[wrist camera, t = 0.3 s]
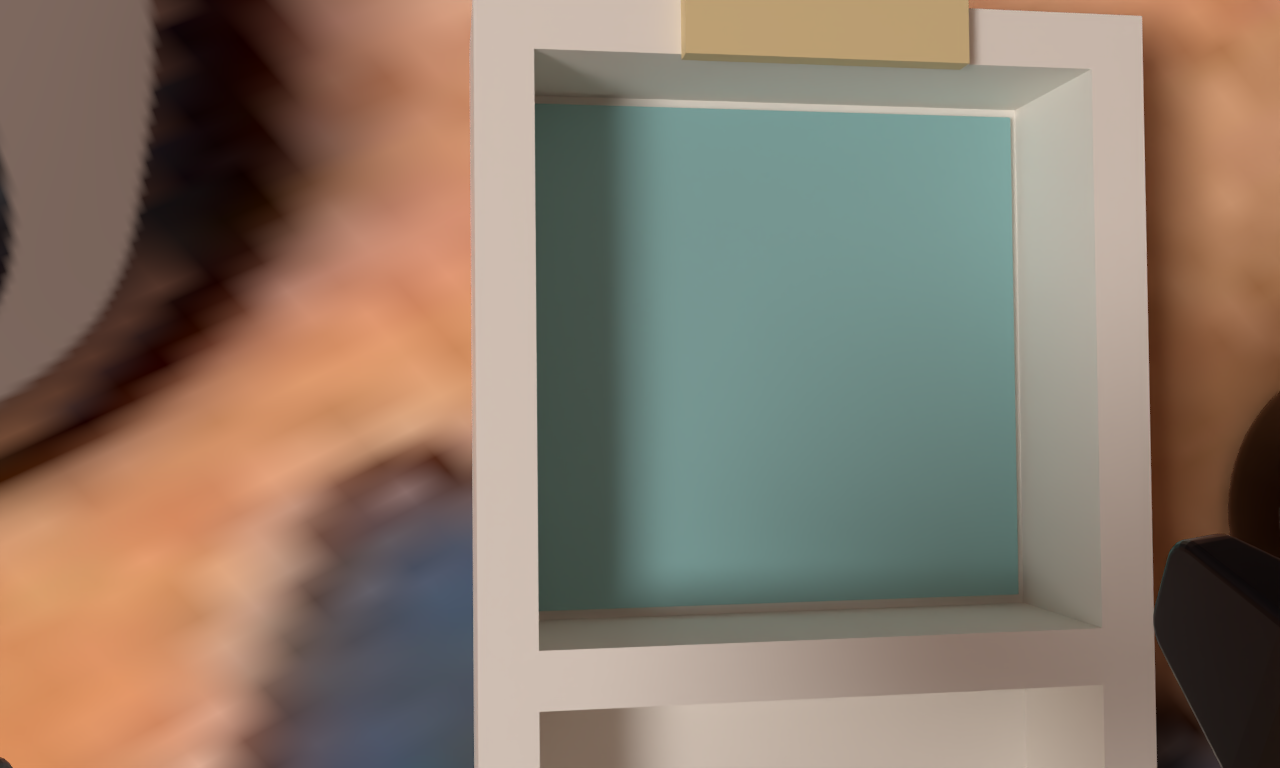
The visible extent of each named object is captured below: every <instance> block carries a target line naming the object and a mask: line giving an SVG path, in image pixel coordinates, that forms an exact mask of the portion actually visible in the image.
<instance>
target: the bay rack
mask: <svg viewBox="0 0 1280 768" xmlns="http://www.w3.org/2000/svg"><path fill="white" fill-rule="evenodd" d="M469 56H470V205H471V354H472V504H473V653H474V768H1157V743H1156V693H1155V643H1154V626H1153V613H1154V592H1153V542H1152V492H1151V442H1150V392H1149V342H1148V292H1147V242H1146V192H1145V142H1144V92H1143V42H1142V16H1130V15H1107V14H1084V13H1062V12H1039V11H1016V10H994V9H971V8H969V3H968V0H472V17H471V35H470V54H469Z"/></svg>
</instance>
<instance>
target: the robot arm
mask: <svg viewBox="0 0 1280 768" xmlns="http://www.w3.org/2000/svg"><path fill="white" fill-rule="evenodd" d="M1153 626H1154V632H1155V635H1156V639H1157V641H1158V644H1159V646H1160V648H1161V650H1162V652H1163V654H1164V656H1165V658H1166V660H1167V662H1168V664H1169V666H1170V668H1171V670H1172V672H1173V674H1174V676H1175V678H1176V680H1177V682H1178V684H1179V685H1180V687H1181V689H1182V691H1183V693H1184V695H1185V697H1186V699H1187V701H1188V703H1189V705H1190V707H1191V709H1192V711H1193V713H1194V715H1195V717H1196V719H1197V721H1198V723H1199V725H1200V727H1201V729H1202V731H1203V732H1204V734H1205V736H1206V738H1207V740H1208V742H1209V744H1210V746H1211V748H1212V750H1213V752H1214V754H1215V756H1216V758H1217V760H1218V762H1219V764H1220V766H1221V768H1280V559H1279V558H1277V557H1275V556H1273V555H1271V554H1269V553H1267V552H1265V551H1263V550H1260V549H1258V548H1256V547H1254V546H1252V545H1250V544H1248V543H1246V542H1244V541H1241V540H1239V539H1237V538H1235V537H1232V536H1230V535H1226V534H1213V535H1207V536H1202V537H1196V538H1191V539H1185V540H1181V541H1179V542H1177V543H1176V544H1175V545H1174V546H1173V548H1172V549H1171V550H1170V552H1169V555H1168V558H1167V562H1166V566H1165V570H1164V574H1163V577H1162V581H1161V585H1160V589H1159V593H1158V597H1157V600H1156V604H1155V608H1154V613H1153ZM0 768H12V766H11V765H10V763H9V762H8V761H6V760H5V759H4V758H1V757H0Z"/></svg>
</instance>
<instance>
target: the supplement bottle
mask: <svg viewBox="0 0 1280 768" xmlns="http://www.w3.org/2000/svg"><path fill="white" fill-rule="evenodd" d="M1228 520H1229V530H1230V536H1232V537H1235V538H1237V539H1239V540H1241V541H1244V542H1246V543H1248V544H1250V545H1252V546H1254V547H1256V548H1258V549H1260V550H1263V551H1265V552H1267V553H1269V554H1271V555H1273V556H1275V557H1277V558H1279V559H1280V392H1279V393H1278V394H1277V395H1275V396H1274V397H1273V398H1272V399H1271V400H1270V402H1269V403H1268V404H1267V405H1266V406H1265V407H1264V408H1263V410H1262V411H1261V412H1260V414H1259V415H1258V416H1257V418H1256V419H1255V421H1254V422H1253V424H1252V425H1251V427H1250V429H1249V431H1248V432H1247V434H1246V436H1245V438H1244V440H1243V442H1242V445H1241V447H1240V449H1239V452H1238V455H1237V458H1236V460H1235V464H1234V468H1233V472H1232V476H1231V482H1230V488H1229V500H1228Z"/></svg>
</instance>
